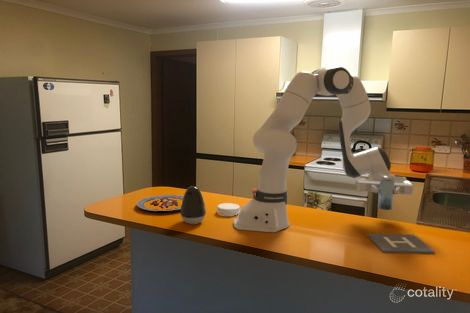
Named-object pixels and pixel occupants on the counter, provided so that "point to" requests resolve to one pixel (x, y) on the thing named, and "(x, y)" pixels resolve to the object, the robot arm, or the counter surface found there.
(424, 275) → the counter surface
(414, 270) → the counter surface
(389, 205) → the canister
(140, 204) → the ceramic plate
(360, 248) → the counter surface
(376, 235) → the letter board
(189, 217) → the black rounded cylinder
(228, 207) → the coaster
